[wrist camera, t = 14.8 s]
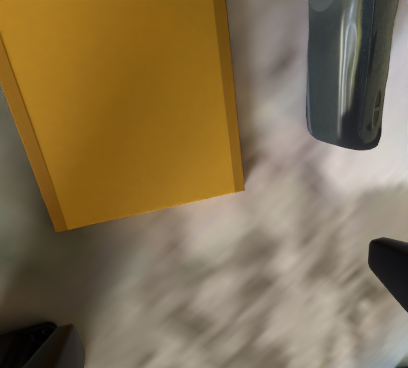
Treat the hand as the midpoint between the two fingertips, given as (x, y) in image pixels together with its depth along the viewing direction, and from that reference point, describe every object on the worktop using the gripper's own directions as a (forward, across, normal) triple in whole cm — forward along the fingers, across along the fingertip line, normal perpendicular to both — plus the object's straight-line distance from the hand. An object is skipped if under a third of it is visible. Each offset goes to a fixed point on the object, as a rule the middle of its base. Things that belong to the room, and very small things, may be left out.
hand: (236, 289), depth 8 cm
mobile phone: (+12, -11, -8) cm, 18 cm away
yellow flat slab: (+12, +2, -8) cm, 15 cm away
